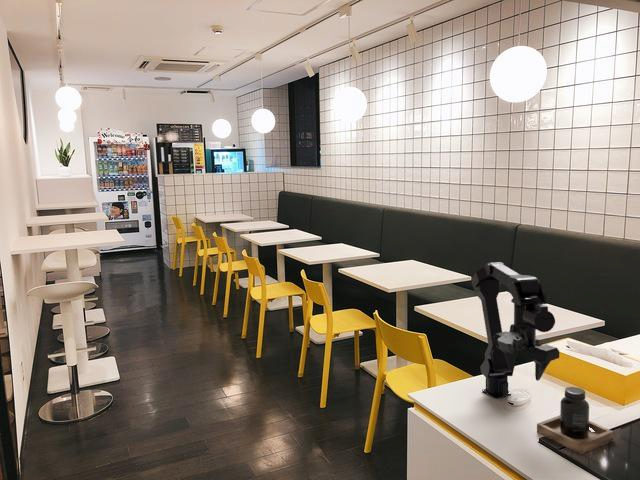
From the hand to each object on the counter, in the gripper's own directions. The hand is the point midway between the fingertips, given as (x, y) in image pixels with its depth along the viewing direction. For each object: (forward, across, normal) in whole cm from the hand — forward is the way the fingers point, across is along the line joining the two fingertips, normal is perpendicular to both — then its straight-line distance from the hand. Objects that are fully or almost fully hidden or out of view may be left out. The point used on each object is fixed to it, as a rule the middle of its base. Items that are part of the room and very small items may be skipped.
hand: (524, 374), depth 145 cm
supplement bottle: (+12, +14, +3) cm, 19 cm away
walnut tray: (+13, +14, +3) cm, 19 cm away
